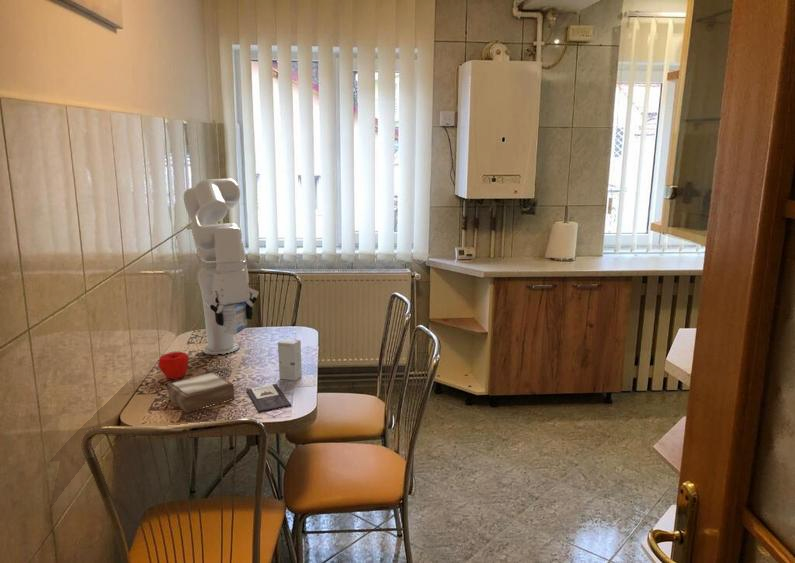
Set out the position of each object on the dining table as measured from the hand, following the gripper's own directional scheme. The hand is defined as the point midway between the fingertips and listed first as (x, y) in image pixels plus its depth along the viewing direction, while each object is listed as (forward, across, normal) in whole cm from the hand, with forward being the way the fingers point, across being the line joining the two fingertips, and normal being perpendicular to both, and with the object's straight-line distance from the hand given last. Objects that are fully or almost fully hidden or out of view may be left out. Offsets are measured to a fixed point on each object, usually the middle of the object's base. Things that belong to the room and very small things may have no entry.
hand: (234, 321), depth 184 cm
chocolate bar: (+20, +1, +20) cm, 28 cm away
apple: (+19, +14, -17) cm, 30 cm away
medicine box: (+3, 0, 0) cm, 3 cm away
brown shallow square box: (+19, +15, +6) cm, 25 cm away
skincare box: (+19, -13, +10) cm, 25 cm away
